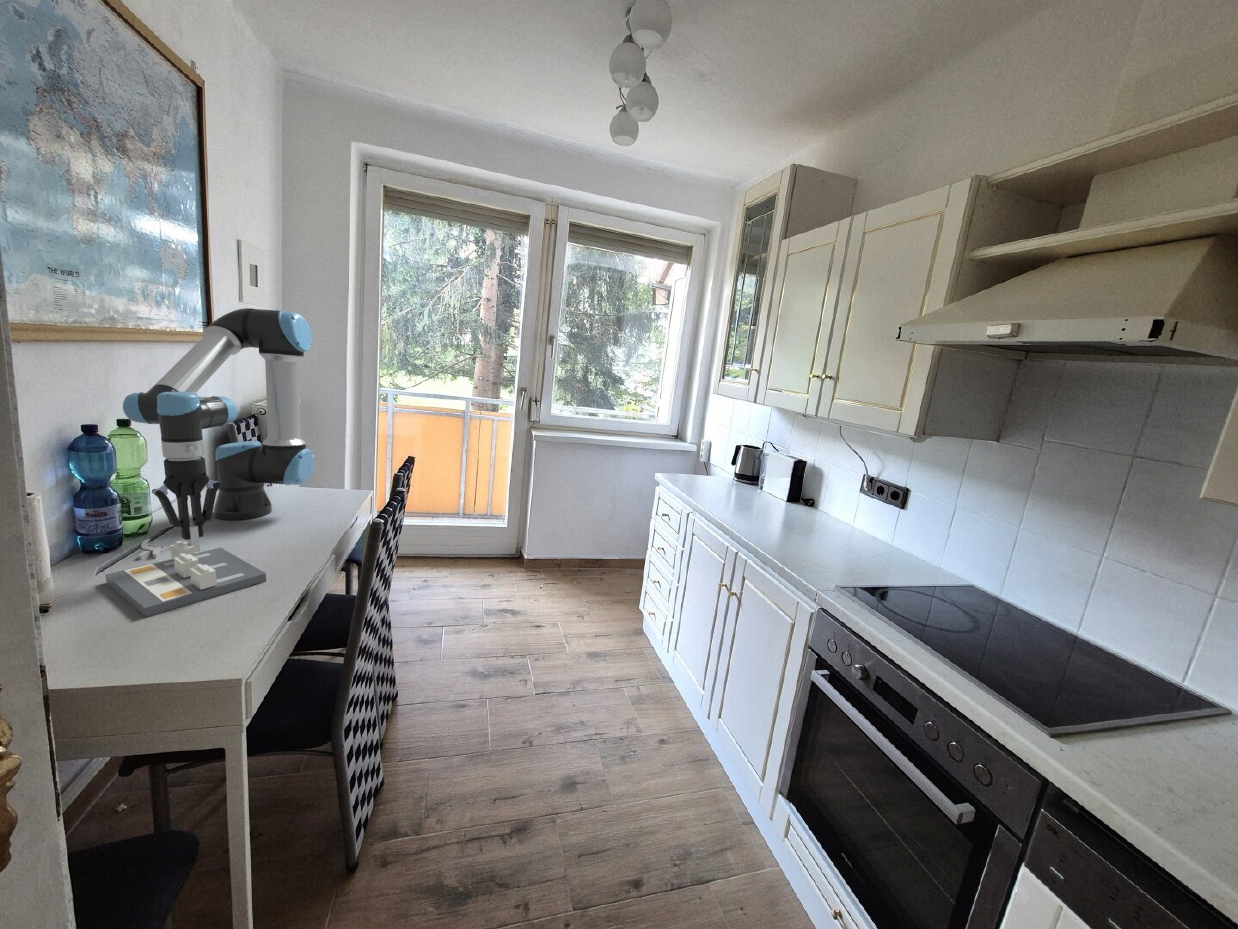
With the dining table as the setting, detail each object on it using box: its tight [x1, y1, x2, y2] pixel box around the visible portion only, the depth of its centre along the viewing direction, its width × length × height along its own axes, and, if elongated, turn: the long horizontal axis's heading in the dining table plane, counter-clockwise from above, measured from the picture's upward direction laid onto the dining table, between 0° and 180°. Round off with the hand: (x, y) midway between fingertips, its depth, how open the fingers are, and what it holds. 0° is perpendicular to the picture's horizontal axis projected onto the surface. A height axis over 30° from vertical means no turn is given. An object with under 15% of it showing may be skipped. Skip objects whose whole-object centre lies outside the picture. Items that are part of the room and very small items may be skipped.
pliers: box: [138, 538, 188, 561], centre depth 134 cm, size 10×2×15 cm
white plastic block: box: [190, 564, 217, 590], centre depth 112 cm, size 3×5×4 cm, turn 58°
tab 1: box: [170, 540, 196, 560], centre depth 123 cm, size 3×5×4 cm, turn 58°
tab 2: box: [174, 553, 199, 578], centre depth 117 cm, size 3×5×4 cm, turn 58°
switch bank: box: [105, 547, 267, 618], centre depth 118 cm, size 22×24×2 cm
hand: (194, 550), depth 125 cm, fingers closed
